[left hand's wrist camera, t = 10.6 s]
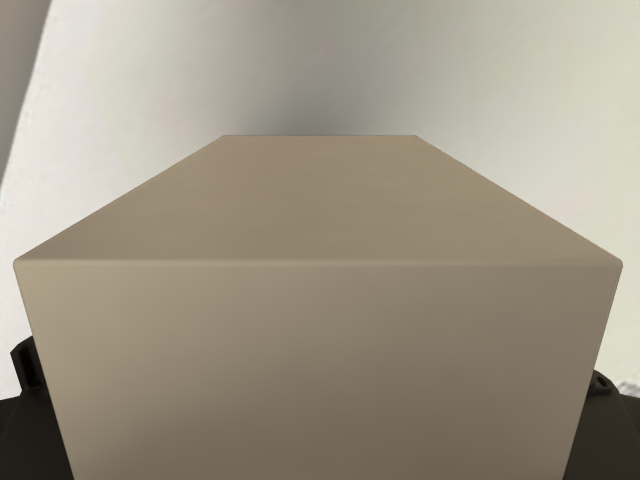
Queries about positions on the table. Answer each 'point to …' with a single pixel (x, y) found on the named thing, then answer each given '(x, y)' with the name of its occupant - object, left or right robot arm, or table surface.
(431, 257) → the box
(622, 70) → the table surface
